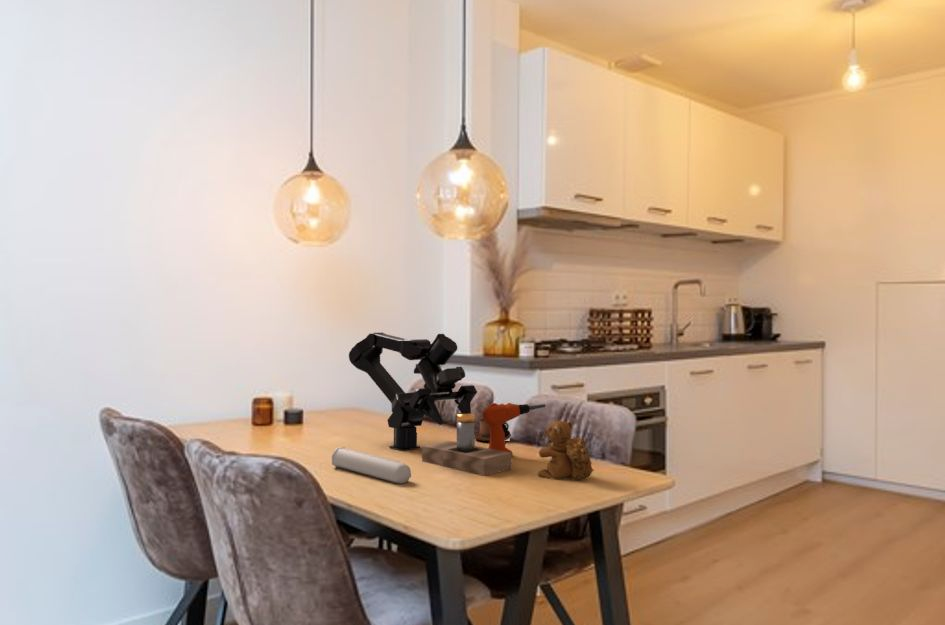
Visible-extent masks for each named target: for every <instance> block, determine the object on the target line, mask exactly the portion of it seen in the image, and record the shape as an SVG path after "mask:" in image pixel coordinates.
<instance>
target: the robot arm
mask: <svg viewBox="0 0 945 625" xmlns="http://www.w3.org/2000/svg"><path fill="white" fill-rule="evenodd" d="M350 349H351V350H350V351H349V353H348V358H349V359H348V360H349V362H350V364H352V365H353V367H355V368H356V369H358V370H360V371H362V372H364V373H366V374H367V375H368V376H369V378H370V379H371V380H372V381H373V382H374V384H375V385H376V386H377V387H378V388H379V390H380V391H381V392H382V394H383V395H384V396H385V397H386V399H387V400H389V402H390V405H391V415H390V416H389V417H388V418H387V424H388V428H391V429H393V445H389V447H388V448H390V449H394V450H398V451H403V452H405V451H410V450H415V449H420V448H421V445H419V444H418V432H417V427H418V426H419V427H421V426H422V424H423V420H424V417H425V416H427V417H428V418H430V419H431V420H433V421H434V422H435V423H437V424H438V425H441V426H442V425H443V424H444V422H443V418H442V416H441V414H440V412H439V410H438V407H437V405H436V404H435V403H436V401H438V402H443V401H454V402H455V404H456V405H457V406H456V407H457V409H458V410H459V411H460V412H459V413H472V409H471V402H472V400H473V399H474V398H475V397H476V395H477V394H478V389H477V388H476V387H475V385H472V384H468V385H461V386H460V387H459V388H458V390H457V391H453V389H455V388H456V386H457V385H456V383H458V382H459V381H460V382H461V381H462V380H463V379H464V378H465V377H466V371H465V370H464V368H463V367H462V366H456V367H453V368H445V369H442V366H444V365H447V364H448V362H449V361H450V360H451V358H452V357H453V356H454V355H455V353H456V351H457V350H458V344H457V343H456V341H454V340H452V338H450V337H448V336H446V335H445V333H438V334H437V335H436V337H435V338H434V340H433V341H432V343H431V341H430V340H429V339H422V338H421V339H408V338H407V339H406V338H403V337H400V336H399V337H398V336H394V335H391V334H387V333H384V332H370V333H369V334H368V335H367V336H366V337H365V338H363V339H362V340H361V341H358V342H357V343H355V345H354V346H353V347H351V348H350ZM385 349H386V350H389V351H392V352H397V353H399V354H400V356H402V357H403V358H405V359H407V360H409V361H419V360H420V361H419V362H418V363H416V364H415V368H414V369H413V374H415V375H416V374H417V375H421V378H422V379H423V381H424V384H423V387H422V388H416V389H415V391H412V392H405V391H404V390H403V389H402V387H401V386H400V385H399V383H397V381H396V380H395V379H394V377H393V376H392V375H391V374H390V373H389V371H387V369H386V368H385V366H383V364H382V363H381V355H382V354H383V352H384V351H383V350H385Z"/></svg>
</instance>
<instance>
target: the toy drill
mask: <svg viewBox="0 0 945 625" xmlns="http://www.w3.org/2000/svg"><path fill="white" fill-rule="evenodd" d="M546 406H547V405H546V404H545V403H542V404H536V405H534V404H533V405H529V404H526V403H524V404H518V403H517V404H516V403H511V402H508V403H505V404H504V403H500V404H498V403H496V402H492V403H489V405H488V406H487V407H485V409H483V411H482V419H484V421H485V422H486V423H487V424H488V425H489V427H490V442H489V446H488V447H487V448H488V449H493V450H499V451H504V452H509V453H512V455H513V452H512V450H511V449H509V448H508V447H506V440H505V438H506V437H507V436H508V435H509V434H511V431H509V428H508V429H507V425H506V424H503V423H505V422H507V423H508V422H509V421H511V420H515V419H516V418H517V417H520V416H521V415H525V414H528V413H529V412H530V411H531V410H537V409H542V408H546Z"/></svg>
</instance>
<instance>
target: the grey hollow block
mask: <svg viewBox="0 0 945 625" xmlns="http://www.w3.org/2000/svg"><path fill="white" fill-rule="evenodd" d="M421 447H422V448H421V462H424V463H428V464H432V465H437V466H440V467H441V466H442V467H445V468H449V469H454V470H459V471H462V472H466V471H467V473H471V474H474V475H475V474H476V475H478V476H479V475H480V476H484V475H485V476H488V474H489V475H493V474H497V473H500V472H499V471H501V472H504V471H503V470H505V471H508V470H507V469H510V470H512V458H513V454H512V453H513V452H512V453H509V452H504V451H499V450H493V449H488V448H489V447H484V446H483V447H482V446H478V445H477V446H476V445H475V451H474V452H469V453H463V452H458V451H457V441H451V440H447V441H441V442H436V443H431V444H425V445H422V446H421ZM496 472H497V473H496ZM492 473H493V474H492Z"/></svg>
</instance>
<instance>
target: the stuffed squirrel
mask: <svg viewBox="0 0 945 625" xmlns="http://www.w3.org/2000/svg"><path fill="white" fill-rule="evenodd" d="M573 425H574V423H573V421H567V422H566V421H565V420H564V421H563V420H556V421H554V422H551V423H550V424H549V425H548V426H547V427H546V428H545V429H546V430H545V431H544V433H543V436H542V438H543V439H544V440H545V439H546V437H547V438H548V440H550V441H551V442H548V444H547V447H541V448H540V449H539V452H538V453H539V457H540V458H551V459H550V460H549V461H548V463H547V465H546V466H545V468H542V469H540V470H539V471H538V474H537V475H538V477H540V476H542V477H541V478H544V477H547V478H546V479H550V478H553V479H552V480H565V478H567V479H570V480H573V479H574V480H573V481H581V480H585V479H587V478H589V477H591V475H592V473H593V471H594V469H593V467H592V465H593V464H592V460H591V458H590V455H589V454H590V452H589V450H588V449H587V447H586V444H585V443H584V440H583V438H581V437H580V438H579V437H573V438H571V437H572V436H571V429H572V427H573Z"/></svg>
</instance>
